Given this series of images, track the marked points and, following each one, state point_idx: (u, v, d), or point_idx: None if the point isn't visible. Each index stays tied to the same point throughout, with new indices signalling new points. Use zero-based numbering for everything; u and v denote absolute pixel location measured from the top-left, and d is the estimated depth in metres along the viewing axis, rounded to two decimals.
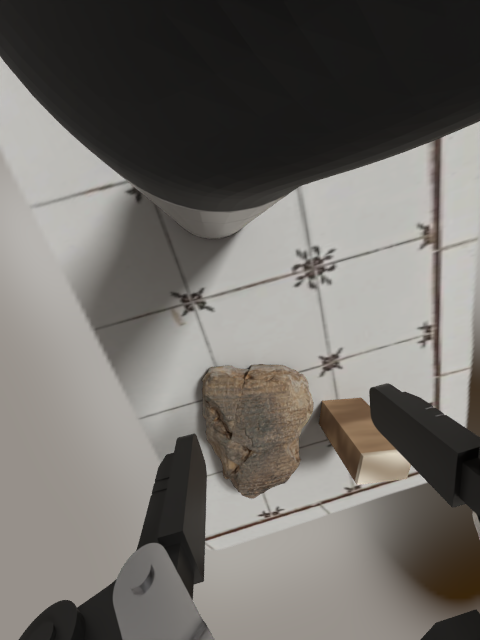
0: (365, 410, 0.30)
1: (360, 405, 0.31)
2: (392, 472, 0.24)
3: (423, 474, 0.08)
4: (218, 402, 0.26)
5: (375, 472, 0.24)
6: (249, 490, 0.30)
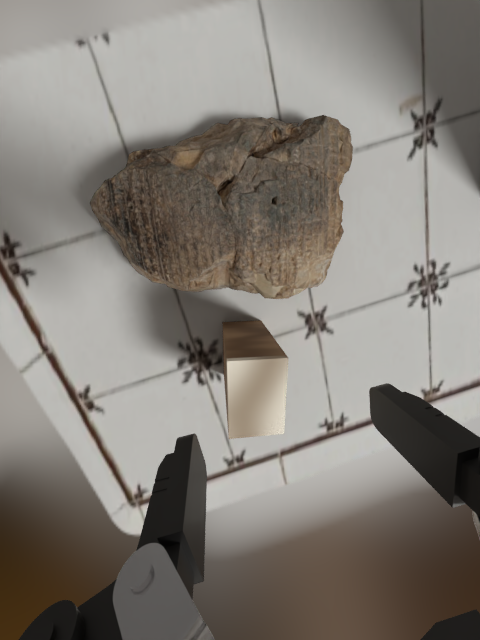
0: None
1: None
2: (246, 412, 0.15)
3: (423, 475, 0.08)
4: (318, 135, 0.16)
5: (250, 385, 0.15)
6: (124, 194, 0.16)
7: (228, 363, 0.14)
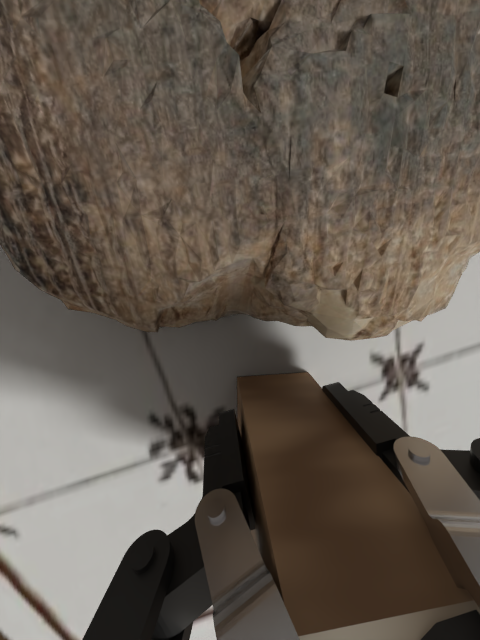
0: None
1: None
2: None
3: None
4: None
5: None
6: None
7: None
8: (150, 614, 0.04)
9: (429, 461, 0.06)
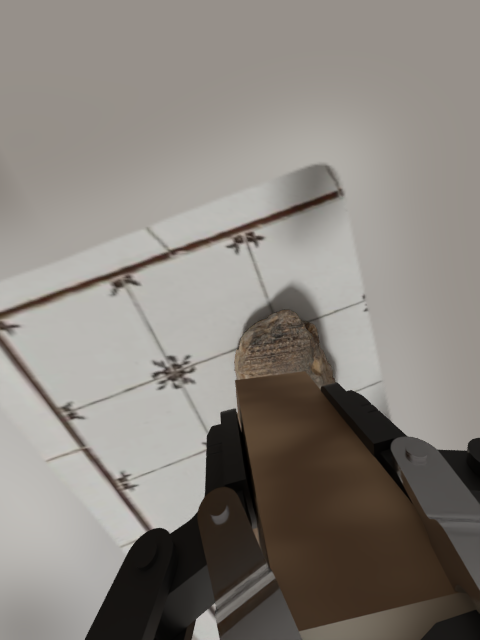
0: None
1: None
2: None
3: None
4: None
5: None
6: (296, 335, 0.25)
7: None
8: (153, 612, 0.05)
9: (426, 461, 0.06)
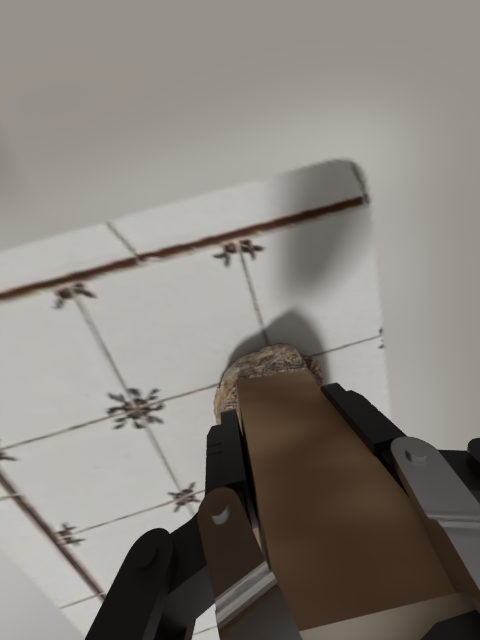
0: None
1: None
2: None
3: None
4: None
5: None
6: None
7: None
8: (153, 612, 0.05)
9: (426, 461, 0.06)
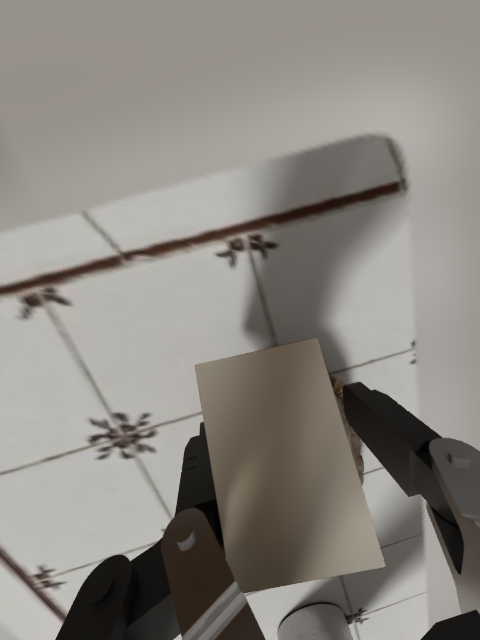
0: None
1: None
2: (260, 497, 0.06)
3: (386, 467, 0.08)
4: None
5: (254, 415, 0.07)
6: None
7: (198, 369, 0.07)
8: None
9: (470, 464, 0.06)
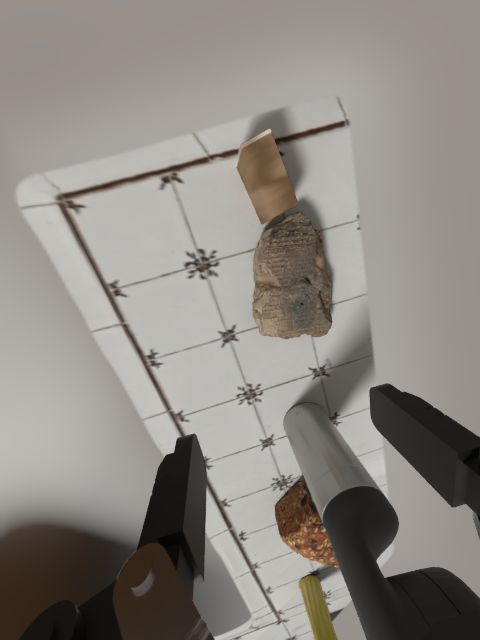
0: None
1: None
2: None
3: (423, 475, 0.08)
4: (325, 320, 0.37)
5: None
6: (305, 231, 0.32)
7: (235, 163, 0.32)
8: None
9: None
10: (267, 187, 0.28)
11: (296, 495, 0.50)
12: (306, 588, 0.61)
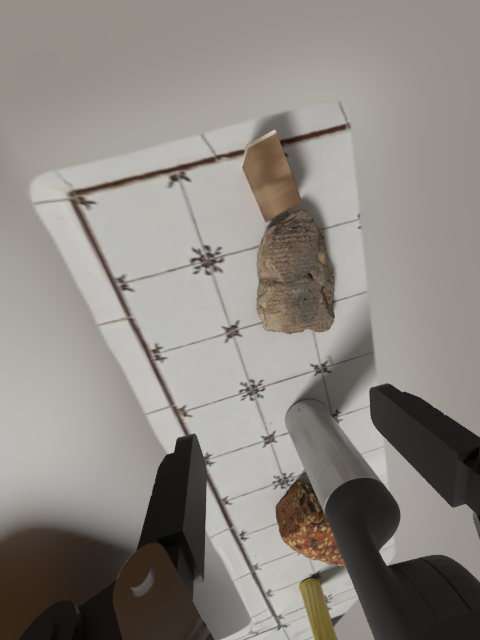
0: None
1: None
2: None
3: (423, 475, 0.08)
4: (328, 315, 0.38)
5: None
6: (307, 228, 0.33)
7: (241, 163, 0.33)
8: None
9: None
10: (272, 185, 0.29)
11: (294, 495, 0.50)
12: (307, 590, 0.60)
